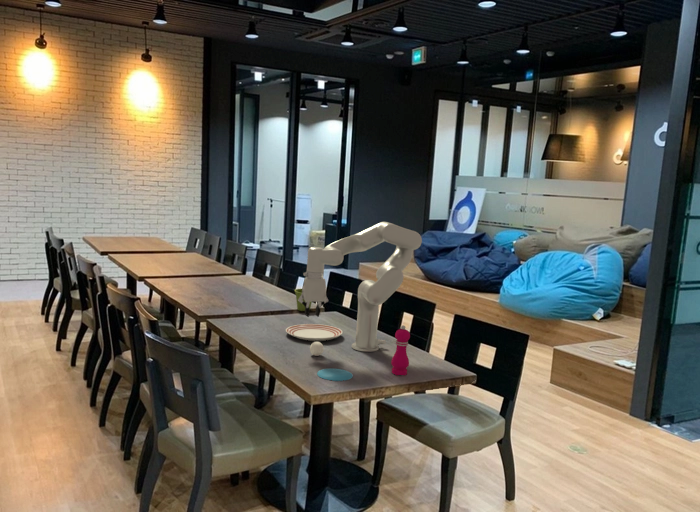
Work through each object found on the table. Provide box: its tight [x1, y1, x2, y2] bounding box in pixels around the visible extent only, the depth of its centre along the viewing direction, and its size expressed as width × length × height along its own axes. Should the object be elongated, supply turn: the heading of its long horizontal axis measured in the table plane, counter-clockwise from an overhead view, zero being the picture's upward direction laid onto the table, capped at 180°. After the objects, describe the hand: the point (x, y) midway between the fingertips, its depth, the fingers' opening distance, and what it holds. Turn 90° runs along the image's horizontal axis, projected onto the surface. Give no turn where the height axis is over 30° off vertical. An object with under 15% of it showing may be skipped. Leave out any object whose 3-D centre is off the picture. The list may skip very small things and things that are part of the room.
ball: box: [309, 341, 325, 357], centre depth 261 cm, size 6×6×6 cm
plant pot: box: [294, 288, 312, 312], centre depth 344 cm, size 12×12×11 cm
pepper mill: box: [390, 325, 411, 376], centre depth 244 cm, size 7×7×20 cm
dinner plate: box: [285, 323, 343, 342], centre depth 292 cm, size 27×27×3 cm
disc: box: [316, 367, 354, 382], centre depth 238 cm, size 14×14×1 cm
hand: (312, 315), depth 268 cm, fingers open, 3 cm apart
